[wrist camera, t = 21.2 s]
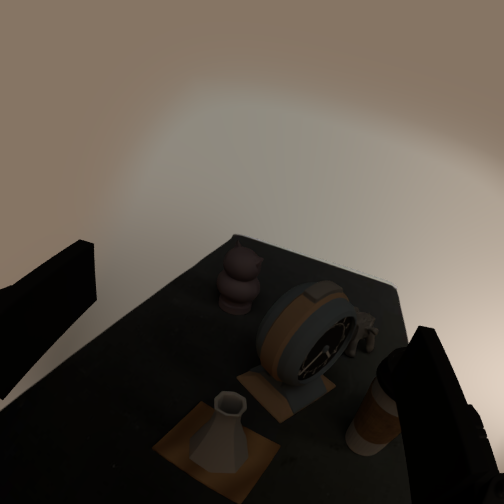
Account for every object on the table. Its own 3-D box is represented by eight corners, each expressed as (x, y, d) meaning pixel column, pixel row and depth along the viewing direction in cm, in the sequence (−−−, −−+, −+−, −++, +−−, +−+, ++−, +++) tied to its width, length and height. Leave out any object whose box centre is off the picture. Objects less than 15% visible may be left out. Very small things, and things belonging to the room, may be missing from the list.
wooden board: (152, 448, 30) (151, 447, 30) (200, 402, 38) (201, 400, 38) (239, 505, 26) (240, 504, 25) (280, 447, 34) (281, 445, 34)
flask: (254, 435, 35) (274, 387, 30) (240, 482, 28) (259, 443, 24) (199, 418, 35) (207, 367, 31) (178, 462, 29) (181, 418, 25)
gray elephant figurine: (376, 348, 55) (392, 317, 52) (344, 377, 47) (362, 342, 44) (339, 324, 61) (352, 292, 58) (303, 346, 53) (316, 312, 50)
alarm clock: (274, 426, 37) (318, 325, 29) (230, 380, 43) (254, 276, 36) (339, 384, 46) (385, 291, 38) (297, 349, 52) (330, 258, 45)
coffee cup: (398, 454, 33) (460, 384, 27) (349, 470, 31) (410, 399, 25) (375, 412, 41) (423, 339, 34) (328, 421, 38) (373, 344, 32)
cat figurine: (205, 297, 61) (213, 241, 56) (237, 289, 66) (247, 236, 61) (230, 322, 55) (242, 263, 50) (263, 311, 60) (277, 256, 55)
